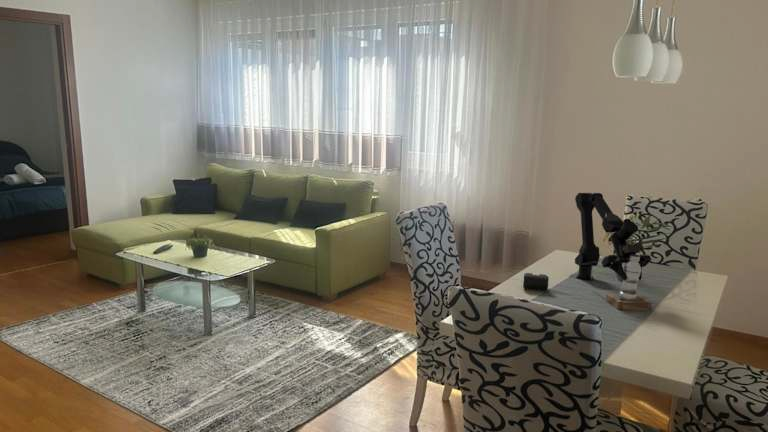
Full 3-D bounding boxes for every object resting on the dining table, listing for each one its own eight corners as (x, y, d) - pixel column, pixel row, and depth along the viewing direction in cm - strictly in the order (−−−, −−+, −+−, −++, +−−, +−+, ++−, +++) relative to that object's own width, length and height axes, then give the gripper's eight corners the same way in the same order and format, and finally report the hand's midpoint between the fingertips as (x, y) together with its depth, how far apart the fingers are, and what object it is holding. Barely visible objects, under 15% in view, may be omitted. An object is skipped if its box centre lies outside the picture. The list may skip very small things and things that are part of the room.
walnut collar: (605, 300, 234) (606, 293, 234) (636, 300, 236) (636, 293, 236) (619, 310, 224) (620, 302, 224) (651, 309, 226) (652, 302, 226)
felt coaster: (592, 291, 246) (592, 290, 246) (618, 290, 248) (618, 289, 248) (607, 300, 235) (607, 299, 234) (634, 300, 236) (634, 299, 236)
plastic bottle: (627, 307, 227) (636, 258, 223) (613, 301, 233) (622, 253, 229) (638, 306, 230) (647, 257, 226) (624, 300, 236) (633, 253, 232)
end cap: (522, 291, 243) (524, 275, 242) (522, 286, 250) (524, 271, 249) (547, 293, 241) (548, 278, 240) (546, 288, 248) (548, 273, 247)
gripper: (608, 235, 229) (620, 270, 220) (651, 235, 231) (665, 269, 223) (596, 249, 238) (607, 283, 229) (638, 249, 241) (650, 282, 232)
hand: (632, 279), depth 228 cm, fingers closed on plastic bottle, 6 cm apart
